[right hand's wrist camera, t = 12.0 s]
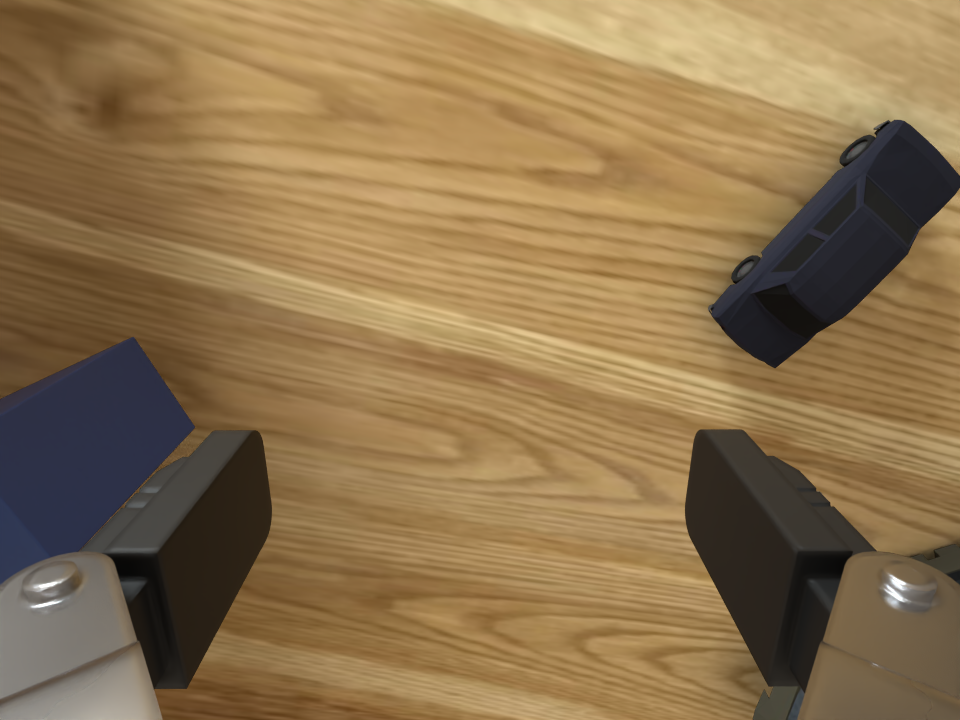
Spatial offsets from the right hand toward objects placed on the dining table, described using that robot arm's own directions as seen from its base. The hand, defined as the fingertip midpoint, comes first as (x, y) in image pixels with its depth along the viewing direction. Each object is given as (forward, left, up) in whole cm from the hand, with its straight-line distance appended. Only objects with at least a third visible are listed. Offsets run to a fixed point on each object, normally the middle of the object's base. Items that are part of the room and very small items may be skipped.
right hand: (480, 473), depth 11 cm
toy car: (-21, 0, -28) cm, 35 cm away
